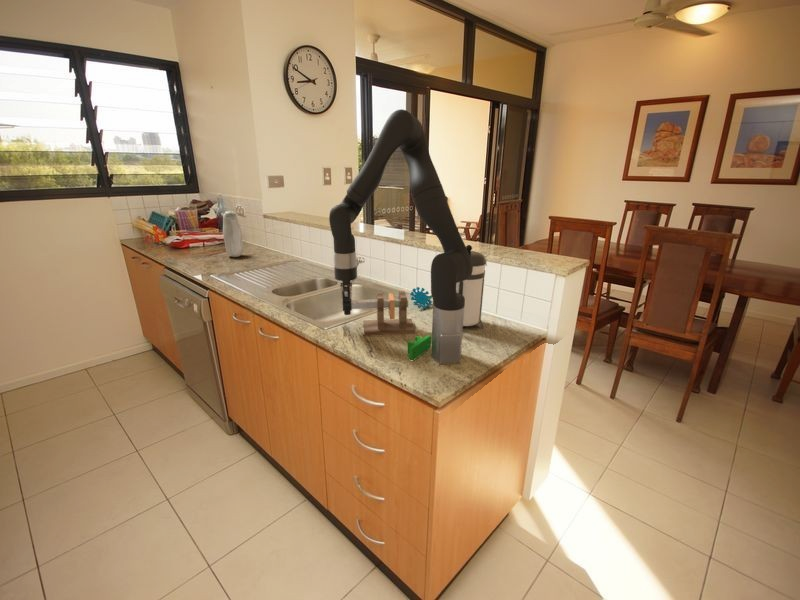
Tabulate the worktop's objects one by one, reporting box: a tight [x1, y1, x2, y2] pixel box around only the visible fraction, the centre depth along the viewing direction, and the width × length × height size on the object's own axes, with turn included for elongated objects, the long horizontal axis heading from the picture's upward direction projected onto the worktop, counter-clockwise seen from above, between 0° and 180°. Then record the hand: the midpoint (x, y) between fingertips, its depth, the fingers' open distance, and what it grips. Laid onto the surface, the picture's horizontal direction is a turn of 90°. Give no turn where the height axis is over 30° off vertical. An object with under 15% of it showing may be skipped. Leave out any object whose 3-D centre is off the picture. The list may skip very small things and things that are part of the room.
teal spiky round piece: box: [410, 286, 433, 310], centre depth 157 cm, size 11×6×10 cm
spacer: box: [387, 293, 396, 320], centre depth 133 cm, size 7×2×7 cm, turn 7°
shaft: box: [342, 298, 409, 312], centre depth 132 cm, size 3×23×3 cm, turn 96°
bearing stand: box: [362, 290, 416, 337], centre depth 133 cm, size 10×18×13 cm, turn 97°
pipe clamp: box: [406, 334, 432, 361], centre depth 119 cm, size 11×4×5 cm, turn 145°
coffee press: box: [456, 244, 488, 329], centre depth 134 cm, size 17×16×30 cm
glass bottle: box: [222, 210, 244, 258], centre depth 229 cm, size 10×10×28 cm
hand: (347, 312), depth 131 cm, fingers closed on shaft, 3 cm apart
